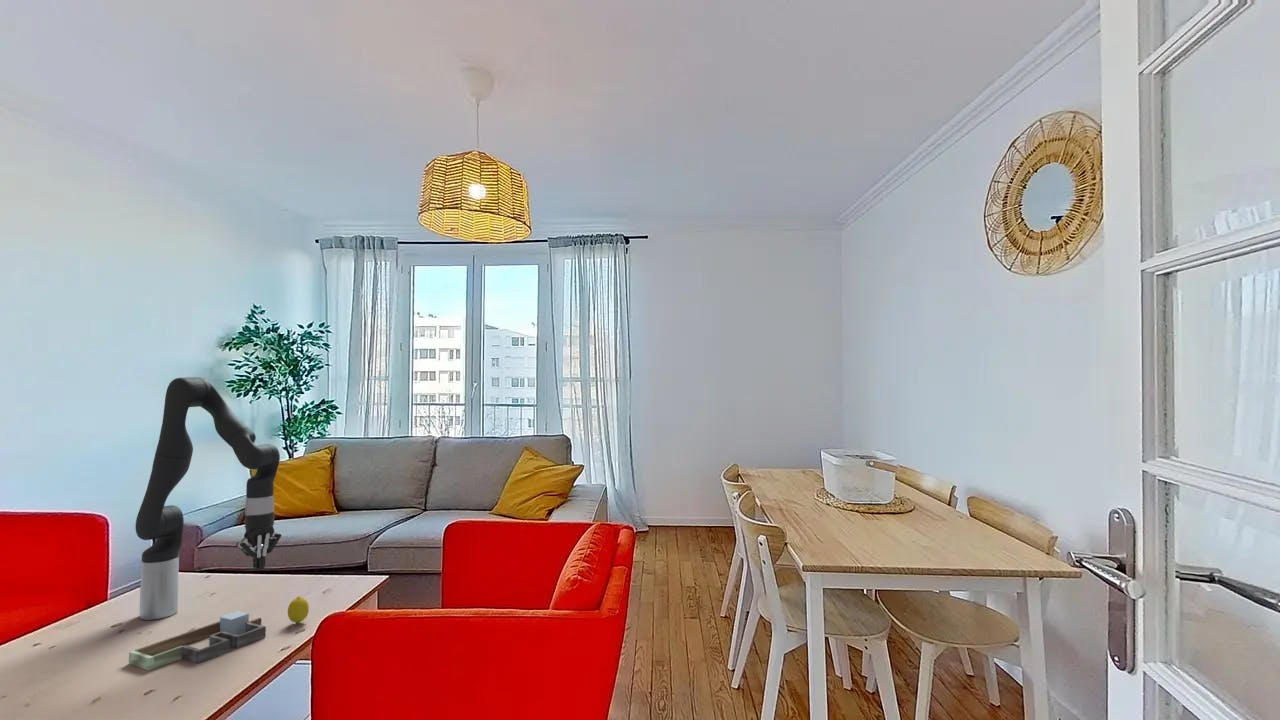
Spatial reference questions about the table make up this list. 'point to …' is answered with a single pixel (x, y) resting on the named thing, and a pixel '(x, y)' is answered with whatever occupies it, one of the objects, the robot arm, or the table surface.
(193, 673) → the table surface
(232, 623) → the block
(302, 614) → the lemon
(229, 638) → the trap box
